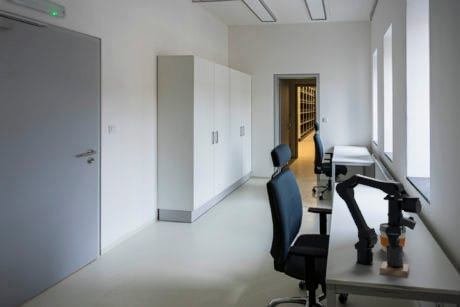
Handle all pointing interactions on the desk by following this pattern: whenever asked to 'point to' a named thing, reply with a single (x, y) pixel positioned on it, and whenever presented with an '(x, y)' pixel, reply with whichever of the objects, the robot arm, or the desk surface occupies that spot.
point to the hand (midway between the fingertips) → (394, 246)
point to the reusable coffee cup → (385, 239)
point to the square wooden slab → (394, 270)
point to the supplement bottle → (395, 255)
